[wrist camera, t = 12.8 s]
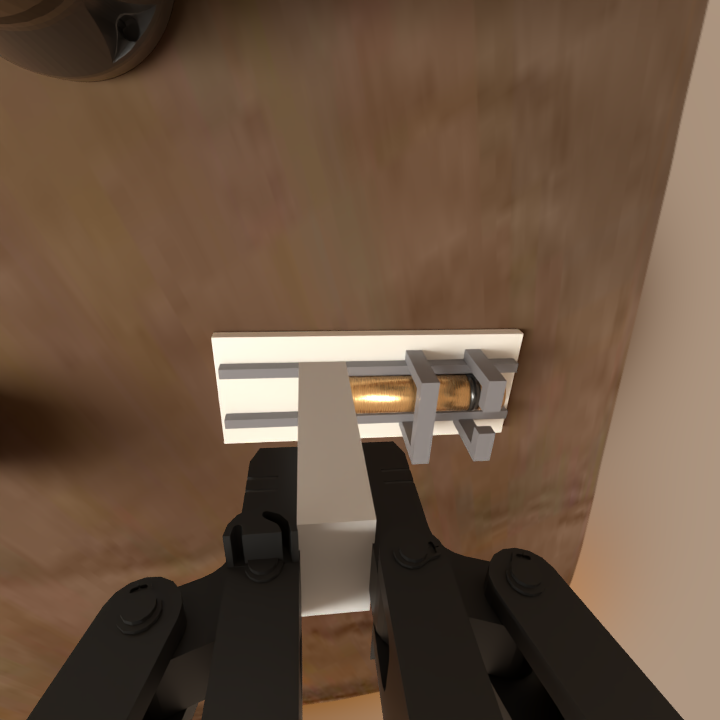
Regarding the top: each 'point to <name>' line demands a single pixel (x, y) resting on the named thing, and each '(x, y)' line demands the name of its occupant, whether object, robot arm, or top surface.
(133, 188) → the top surface
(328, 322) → the top surface
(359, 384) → the tube
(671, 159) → the top surface
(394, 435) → the white grey flat rack
